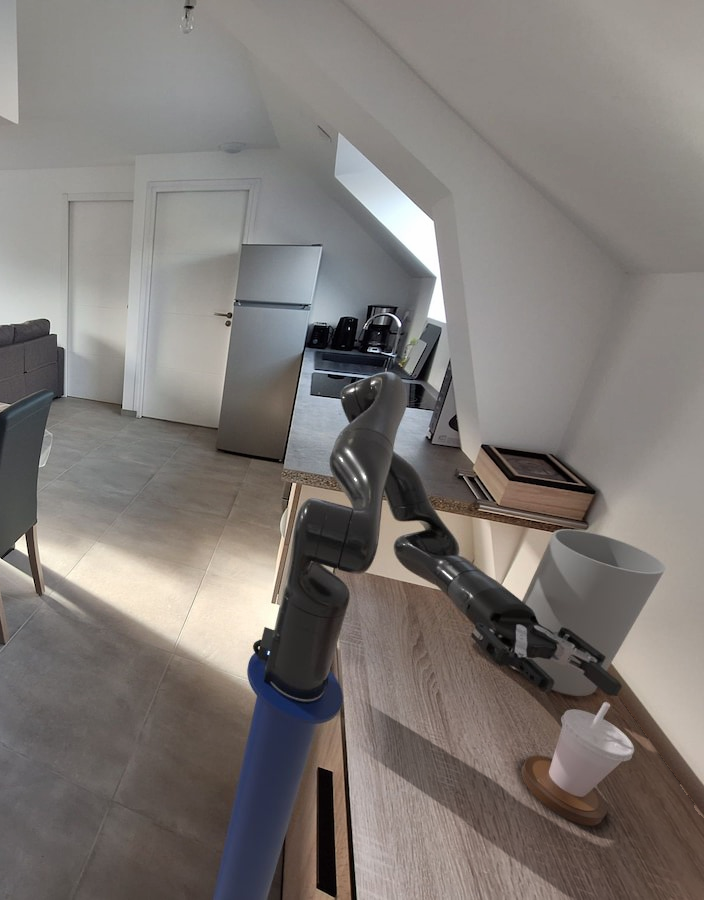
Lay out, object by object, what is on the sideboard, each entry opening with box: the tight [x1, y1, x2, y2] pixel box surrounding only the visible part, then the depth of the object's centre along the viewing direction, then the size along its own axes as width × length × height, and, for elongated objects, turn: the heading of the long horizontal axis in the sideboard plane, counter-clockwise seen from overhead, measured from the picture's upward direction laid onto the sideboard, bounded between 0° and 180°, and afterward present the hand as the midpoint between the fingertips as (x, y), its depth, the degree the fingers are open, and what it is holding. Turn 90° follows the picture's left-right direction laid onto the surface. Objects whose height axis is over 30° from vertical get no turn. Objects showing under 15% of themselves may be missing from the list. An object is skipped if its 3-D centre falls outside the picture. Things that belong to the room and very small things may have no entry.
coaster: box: [520, 755, 608, 827], centre depth 61 cm, size 8×8×2 cm
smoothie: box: [549, 701, 635, 797], centre depth 58 cm, size 6×6×14 cm
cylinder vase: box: [517, 528, 666, 697], centre depth 77 cm, size 12×12×25 cm
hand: (582, 689), depth 59 cm, fingers open, 8 cm apart
